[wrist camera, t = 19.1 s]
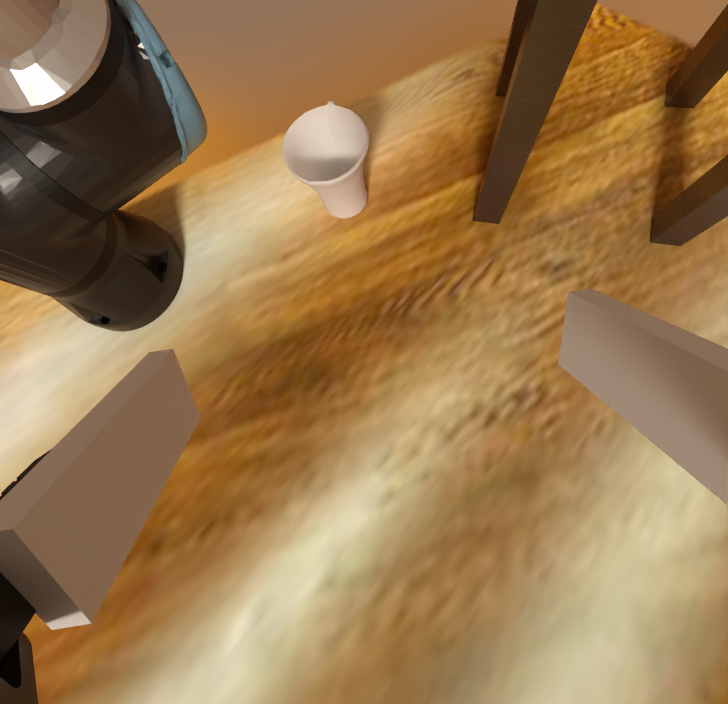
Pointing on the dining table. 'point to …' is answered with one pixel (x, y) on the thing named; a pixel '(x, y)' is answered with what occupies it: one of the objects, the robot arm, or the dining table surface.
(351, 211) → the cup
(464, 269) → the dining table surface
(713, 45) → the rail stand
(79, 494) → the robot arm
